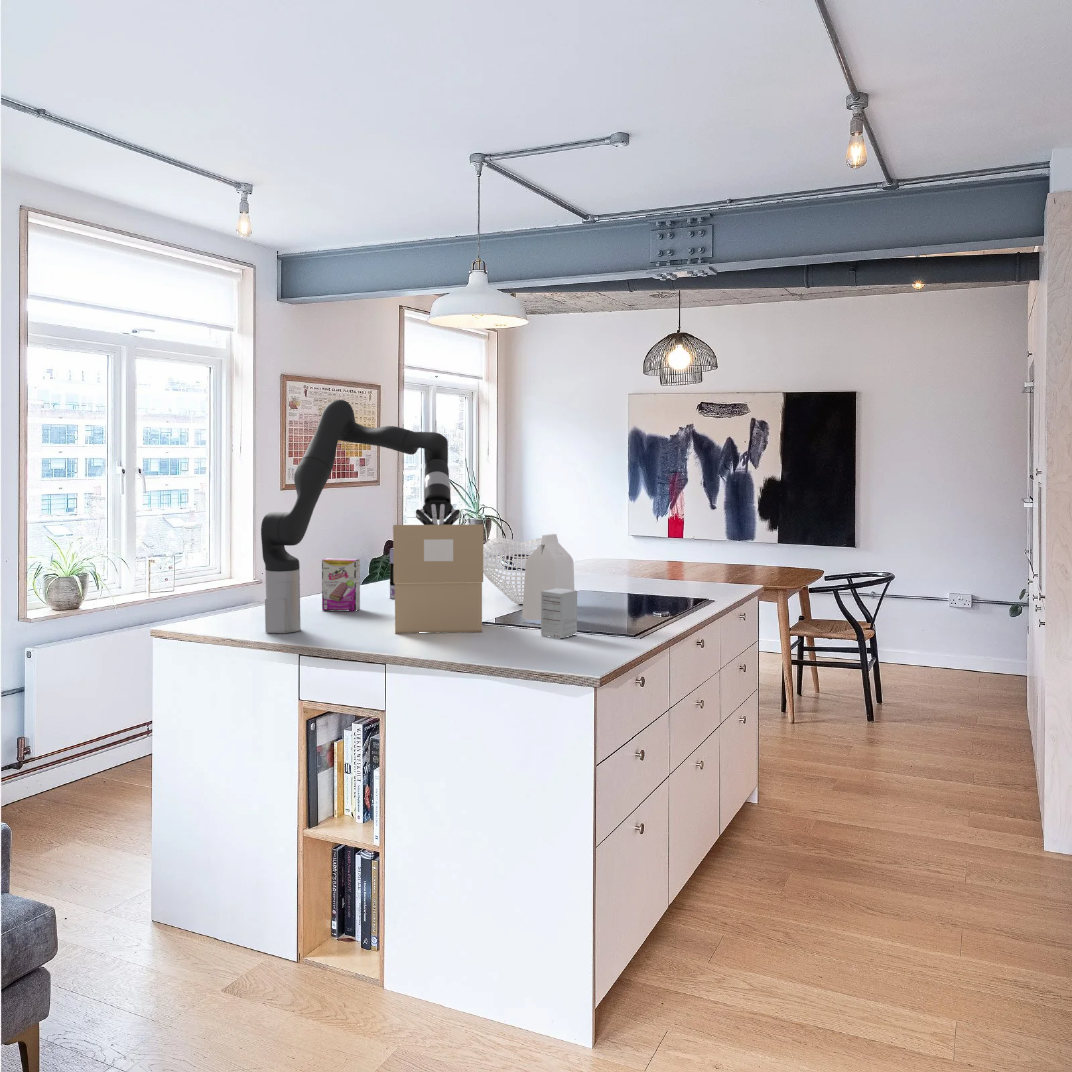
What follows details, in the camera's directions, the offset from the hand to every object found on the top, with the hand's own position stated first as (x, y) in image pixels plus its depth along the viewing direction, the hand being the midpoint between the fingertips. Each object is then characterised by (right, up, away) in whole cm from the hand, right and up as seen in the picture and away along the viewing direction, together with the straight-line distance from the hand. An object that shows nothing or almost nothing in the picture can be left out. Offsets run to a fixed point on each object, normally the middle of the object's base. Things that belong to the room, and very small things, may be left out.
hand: (438, 537), depth 262 cm
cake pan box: (-18, -21, +70) cm, 75 cm away
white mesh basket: (+22, -22, +51) cm, 60 cm away
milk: (+31, -25, +21) cm, 45 cm away
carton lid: (0, -4, 0) cm, 4 cm away
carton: (-1, -26, +10) cm, 28 cm away
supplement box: (+33, -27, -1) cm, 43 cm away
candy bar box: (-35, -23, +39) cm, 57 cm away
